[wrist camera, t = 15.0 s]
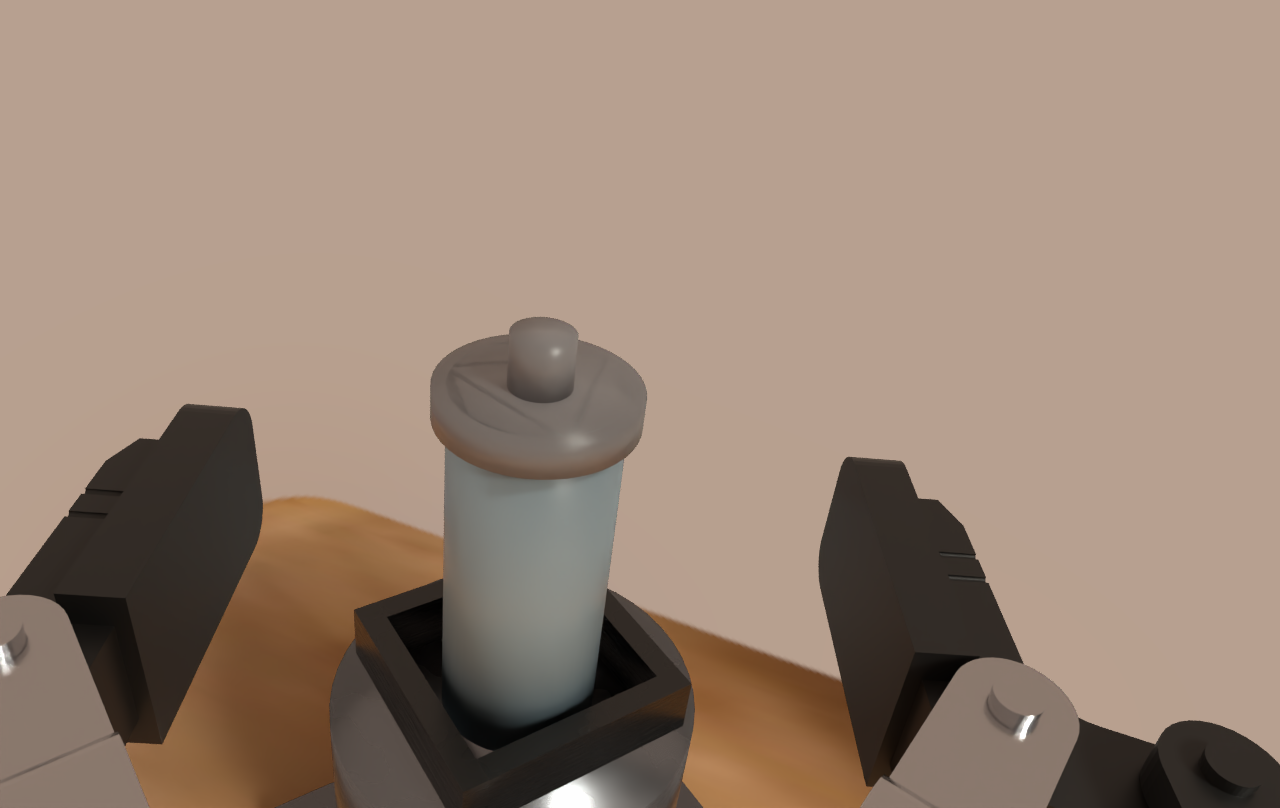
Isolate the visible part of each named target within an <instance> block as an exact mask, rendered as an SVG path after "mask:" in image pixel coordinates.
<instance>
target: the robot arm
mask: <svg viewBox="0 0 1280 808" xmlns="http://www.w3.org/2000/svg"><path fill="white" fill-rule="evenodd" d="M262 514H263V501H262V493H261V485H260V479H259V470H258V463H257V456H256V448H255V441H254V434H253V426H252V420H251V417H250V414H249V412H248V411H247V410H246V409H244V408H232V407H219V406H207V405H194V404H186V405H184V406H183V407H182V408H181V409H180V410H179V412H178V413H177V414H176V416H175V417H174V419H173V420H172V422H171V423H170V425H169V426H168V427H167V429H166V430H165V432H164V433H163V435H162V436H161V438H160V439H159V440H155V439H138V440H137V441H135V442H134V443H132V444H131V445H129V446H128V447H126V448H125V449H123V450H122V451H120V452H119V453H117V454H116V455H114V456H113V457H111V458H110V459H108V460H106V461H105V463H104V464H103V465H102V467H101V468H100V469H99V471H98V472H97V473H96V475H95V476H94V477H93V479H92V480H91V481H90V483H89V484H88V486H87V487H86V491H85V494H81V495H80V496H79V498H78V499H77V500H76V502H75V503H74V505H73V506H72V507H71V508H70V510H69V516H68V517H64V518H63V519H62V521H61V522H60V523H59V525H58V526H57V528H56V529H55V530H54V531H53V533H52V534H51V535H50V537H49V538H48V539H47V541H46V542H45V543H44V545H43V546H42V548H41V549H40V550H39V552H38V553H37V554H36V556H35V557H34V558H33V560H32V561H31V562H30V564H29V565H28V566H27V568H26V569H25V570H24V572H23V573H22V574H21V576H20V577H19V579H18V580H17V581H16V583H15V584H14V585H13V587H12V588H11V589H10V591H9V592H8V593H7V595H6V596H2V597H0V808H149V805H148V803H147V800H146V798H145V795H144V793H143V791H142V788H141V786H140V783H139V781H138V778H137V776H136V773H135V771H134V768H133V766H132V763H131V761H130V758H129V756H128V753H127V751H126V748H125V745H126V743H127V742H131V743H149V744H162V743H163V741H164V739H165V737H166V735H167V733H168V731H169V729H170V727H171V724H172V722H173V720H174V718H175V716H176V714H177V712H178V710H179V707H180V705H181V703H182V701H183V699H184V697H185V695H186V693H187V690H188V688H189V686H190V684H191V682H192V680H193V678H194V676H195V674H196V671H197V669H198V667H199V665H200V663H201V661H202V659H203V657H204V654H205V652H206V650H207V648H208V646H209V644H210V642H211V640H212V638H213V635H214V633H215V631H216V629H217V627H218V625H219V623H220V621H221V618H222V616H223V614H224V612H225V610H226V608H227V606H228V604H229V601H230V599H231V597H232V595H233V593H234V591H235V589H236V587H237V585H238V582H239V580H240V578H241V576H242V574H243V572H244V570H245V568H246V565H247V563H248V561H249V559H250V557H251V555H252V553H253V551H254V549H255V546H256V544H257V541H258V538H259V534H260V529H261V523H262ZM975 555H976V554H975V551H974V549H973V547H972V545H971V542H970V540H969V537H968V535H967V533H966V531H965V528H964V526H963V525H962V524H961V523H960V522H959V521H958V520H957V519H956V518H955V517H954V516H953V515H952V514H951V513H950V512H949V511H948V510H947V509H946V508H945V507H944V506H943V505H942V504H941V503H940V502H939V501H938V500H931V499H918V497H917V494H916V492H915V489H914V487H913V484H912V482H911V479H910V477H909V474H908V472H907V469H906V467H905V465H904V463H903V462H902V461H896V460H883V459H869V458H856V457H847V458H846V459H845V460H844V462H843V464H842V466H841V470H840V472H839V477H838V480H837V484H836V488H835V491H834V495H833V499H832V503H831V506H830V510H829V514H828V518H827V521H826V525H825V529H824V533H823V537H822V540H821V545H820V552H819V582H820V588H821V592H822V597H823V601H824V606H825V610H826V614H827V619H828V623H829V627H830V631H831V635H832V640H833V645H834V649H835V653H836V658H837V662H838V666H839V671H840V675H841V679H842V684H843V688H844V692H845V696H846V701H847V705H848V709H849V714H850V718H851V722H852V727H853V731H854V735H855V740H856V744H857V748H858V753H859V757H860V761H861V766H862V770H863V774H864V779H865V783H866V786H870V787H873V788H872V790H871V791H870V793H869V794H868V796H867V797H866V799H865V800H864V802H863V804H862V805H861V807H860V808H1280V765H1279V763H1278V762H1277V761H1276V760H1275V759H1274V758H1273V757H1272V756H1270V755H1269V754H1268V753H1267V752H1266V751H1265V750H1263V749H1262V748H1261V747H1259V746H1258V745H1257V744H1255V743H1254V742H1252V741H1251V740H1249V739H1248V738H1246V737H1244V736H1242V735H1241V734H1239V733H1237V732H1235V731H1233V730H1230V729H1227V728H1225V727H1223V726H1220V725H1216V724H1213V723H1208V722H1203V721H1190V720H1189V721H1182V722H1178V723H1175V724H1172V725H1171V726H1169V727H1168V728H1166V729H1165V730H1164V732H1163V733H1162V734H1161V736H1160V737H1159V739H1158V741H1157V742H1156V744H1152V743H1149V742H1146V741H1143V740H1140V739H1137V738H1134V737H1130V736H1127V735H1124V734H1121V733H1118V732H1115V731H1112V730H1109V729H1106V728H1102V727H1099V726H1097V725H1094V724H1091V723H1089V722H1086V721H1084V720H1082V719H1080V718H1078V715H1077V713H1076V710H1075V708H1074V706H1073V704H1072V703H1071V701H1070V700H1069V698H1068V697H1067V696H1066V694H1065V693H1064V692H1063V691H1062V690H1061V689H1060V688H1059V687H1058V686H1057V685H1056V684H1055V683H1054V682H1053V681H1051V680H1050V679H1048V678H1047V677H1046V676H1045V675H1043V674H1042V673H1040V672H1038V671H1036V670H1035V669H1033V668H1031V667H1028V666H1026V665H1024V664H1023V661H1022V659H1021V657H1020V655H1019V652H1018V650H1017V648H1016V645H1015V643H1014V641H1013V639H1012V636H1011V634H1010V632H1009V629H1008V627H1007V625H1006V622H1005V620H1004V618H1003V615H1002V613H1001V611H1000V609H999V606H998V604H997V602H996V599H995V597H994V595H993V593H992V590H991V588H990V586H989V583H986V582H985V578H986V577H985V574H984V572H983V570H982V567H981V565H980V563H979V561H978V560H976V559H975Z"/></svg>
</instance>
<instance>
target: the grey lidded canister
mask: <svg viewBox="0 0 1280 808" xmlns="http://www.w3.org/2000/svg"><path fill="white" fill-rule="evenodd" d="M646 401H647V391H646V387H645V384H644V382H643V380H642V378H641V377H640V375H639V374H638V373H637V371H636V370H635V369H634V368H633V367H632V366H631V365H629V364H628V363H627V362H626V361H624V360H623V359H622V358H620V357H618V356H617V355H615V354H613V353H612V352H610V351H607V350H605V349H603V348H601V347H598V346H596V345H593V344H590V343H587V342H584V341H580V340H578V332H577V330H576V329H575V328H574V327H573V326H572V325H570V324H568V323H566V322H564V321H561V320H558V319H554V318H548V317H532V318H526V319H522V320H520V321H517V322H516V323H514V324H513V325H512V326H511V327H510V330H509V335H501V336H495V337H490V338H485V339H481V340H477V341H475V342H472V343H469V344H466V345H464V346H462V347H460V348H458V349H456V350H454V351H453V352H451V353H450V354H448V355H447V356H446V357H445V358H443V359H442V360H441V362H440V363H439V364H438V365H437V366H436V368H435V370H434V371H433V374H432V377H431V385H430V420H431V425H432V428H433V430H434V432H435V435H436V436H437V437H438V439H439V440H440V442H441V443H442V444H443V445H445V490H444V492H445V493H444V563H443V636H442V704H443V707H444V709H445V710H446V712H447V714H448V715H449V717H450V718H451V720H452V722H453V723H454V725H455V726H456V728H457V730H458V731H459V733H460V734H461V735H462V736H463V737H465V738H466V739H467V740H469V741H470V742H472V743H474V744H476V745H478V746H480V747H482V748H485V749H488V750H491V751H495V750H497V749H500V748H502V747H504V746H506V745H508V744H510V743H513V742H515V741H517V740H519V739H521V738H524V737H526V736H528V735H530V734H532V733H534V732H537V731H539V730H541V729H543V728H545V727H548V726H550V725H552V724H554V723H556V722H558V721H561V720H563V719H565V718H567V717H569V716H572V715H574V714H576V713H578V712H580V711H582V710H585V709H587V708H589V707H591V705H592V700H593V692H594V684H595V677H596V669H597V662H598V654H599V646H600V639H601V631H602V624H603V616H604V608H605V601H606V593H607V585H608V577H609V570H610V562H611V555H612V547H613V540H614V532H615V525H616V517H617V509H618V502H619V494H620V487H621V479H622V471H623V463H624V458H626V457H627V456H628V455H629V454H630V453H631V452H632V451H633V450H634V448H635V447H636V445H637V444H638V442H639V440H640V438H641V435H642V430H643V423H644V416H645V409H646Z"/></svg>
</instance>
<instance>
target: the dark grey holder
mask: <svg viewBox="0 0 1280 808" xmlns="http://www.w3.org/2000/svg"><path fill="white" fill-rule="evenodd" d="M354 621H355V639H354V641H353V642H352V644H351V645H350V646H349V648H348V649H347V651H346V653H345V655H344V657H343V659H342V661H341V663H340V665H339V667H338V669H337V672H336V676H335V679H334V682H333V685H332V691H331V698H330V705H329V706H330V730H331V744H332V758H333V771H334V782H333V783H330V784H328V785H326V786H324V787H321V788H319V789H317V790H314V791H312V792H310V793H307V794H305V795H303V796H301V797H298V798H296V799H294V800H291V801H289V802H287V803H284V804H282V805H280V806H278V807H275V808H703V807H702V806H701V804H700V803H699V802H698V801H697V799H696V798H695V797H694V796H693V794H692V793H691V792H690V791H689V789H688V788H687V787H686V786H685V784H684V783H683V782H682V778H683V773H684V769H685V764H686V759H687V755H688V750H689V746H690V741H691V736H692V732H693V725H694V713H695V707H694V695H693V689H692V684H691V681H690V677H689V673H688V671H687V668H686V666H685V664H684V661H683V659H682V657H681V655H680V653H679V652H678V650H677V648H676V647H675V645H674V643H673V642H672V640H671V639H670V638H669V637H668V635H667V634H666V633H665V632H664V630H663V629H662V628H661V627H660V626H659V625H658V624H657V623H656V622H655V621H654V620H653V619H652V618H651V617H650V616H649V615H648V614H647V613H645V612H644V611H643V610H641V609H640V608H639V607H638V606H636V605H635V604H634V603H632V602H631V601H629V600H627V599H626V598H624V597H622V596H621V595H619V594H617V593H616V592H614V591H611V590H609V589H607V593H606V601H605V608H604V616H603V624H602V631H601V639H600V646H599V654H598V662H597V669H596V677H595V684H594V692H593V700H592V705H591V707H589V708H587V709H585V710H582V711H580V712H578V713H576V714H574V715H572V716H569V717H567V718H565V719H563V720H561V721H558V722H556V723H554V724H552V725H550V726H548V727H545V728H543V729H541V730H539V731H537V732H534V733H532V734H530V735H528V736H526V737H524V738H521V739H519V740H517V741H515V742H513V743H510V744H508V745H506V746H504V747H502V748H500V749H497V750H495V751H491V750H488V749H485V748H482V747H480V746H478V745H476V744H474V743H472V742H470V741H469V740H467V739H466V738H465V737H463V736H462V735H461V734H460V733H459V731H458V730H457V728H456V726H455V725H454V723H453V722H452V720H451V718H450V717H449V715H448V714H447V712H446V710H445V709H444V707H443V704H442V636H443V579H440V580H437V581H435V582H432V583H430V584H427V585H425V586H422V587H419V588H416V589H413V590H410V591H407V592H404V593H401V594H398V595H396V596H393V597H390V598H387V599H384V600H381V601H378V602H375V603H372V604H369V605H366V606H364V607H361V608H358V609H355V610H354Z"/></svg>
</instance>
